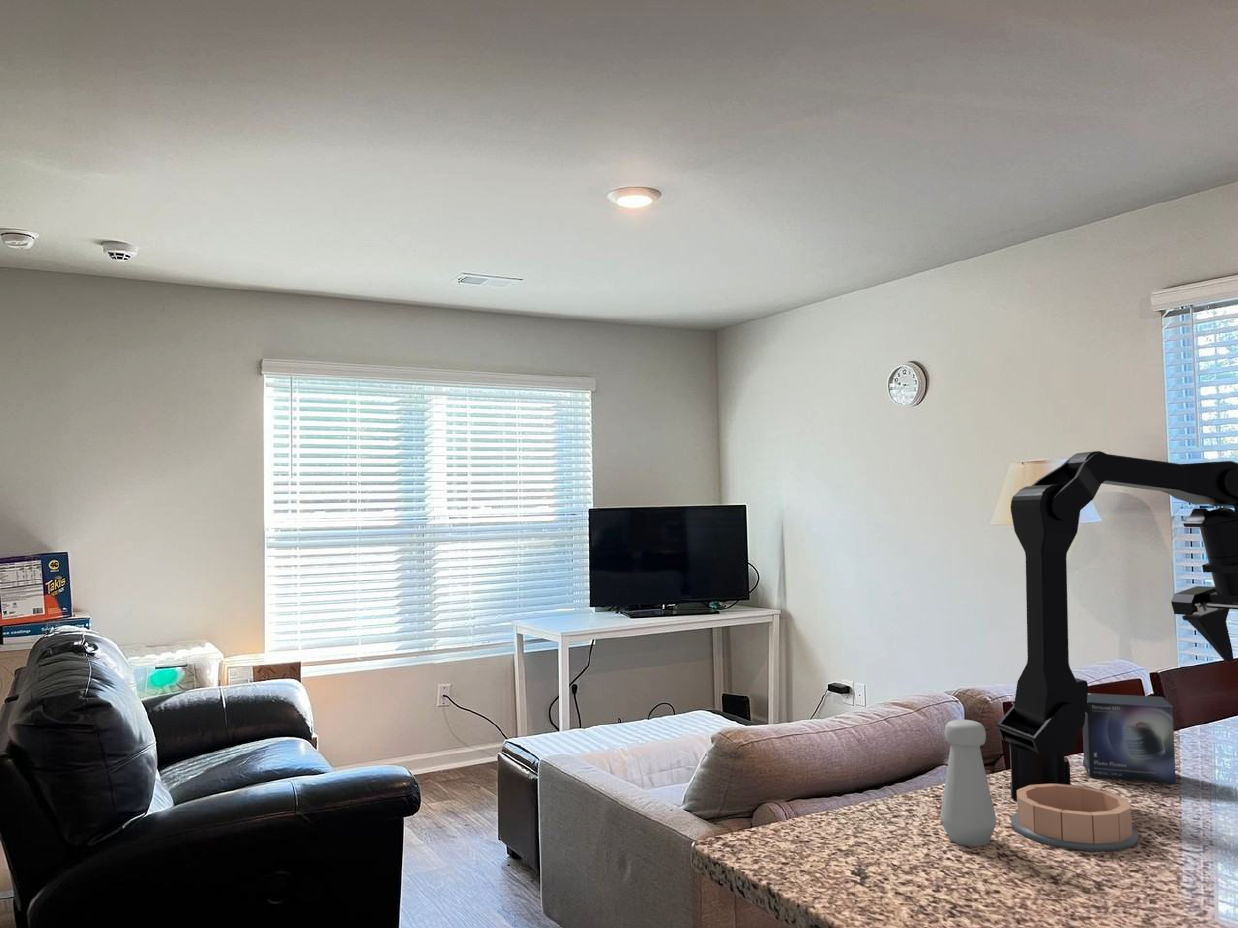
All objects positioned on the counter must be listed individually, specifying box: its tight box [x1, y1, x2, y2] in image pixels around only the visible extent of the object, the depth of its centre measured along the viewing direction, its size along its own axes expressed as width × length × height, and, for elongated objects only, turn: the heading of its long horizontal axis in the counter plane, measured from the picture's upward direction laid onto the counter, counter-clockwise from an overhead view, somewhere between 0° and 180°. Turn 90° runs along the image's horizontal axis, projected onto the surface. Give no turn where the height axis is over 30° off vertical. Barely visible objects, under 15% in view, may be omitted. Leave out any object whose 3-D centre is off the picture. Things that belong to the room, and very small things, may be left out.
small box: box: [1082, 692, 1177, 785], centre depth 126 cm, size 11×6×10 cm, turn 70°
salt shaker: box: [939, 719, 997, 848], centre depth 102 cm, size 6×6×13 cm
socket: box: [1010, 784, 1140, 852], centre depth 104 cm, size 13×13×4 cm
